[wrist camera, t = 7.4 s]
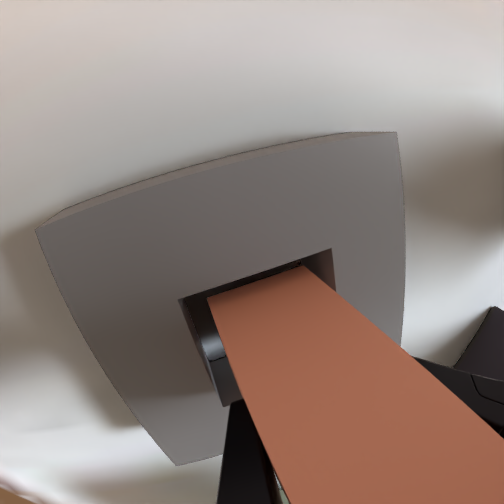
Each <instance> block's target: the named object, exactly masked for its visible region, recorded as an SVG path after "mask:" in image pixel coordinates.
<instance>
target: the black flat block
mask: <svg viewBox="0 0 504 504" xmlns="http://www.w3.org/2000/svg"><path fill="white" fill-rule="evenodd" d="M453 369H457V370H460V371H464V372H467V373H470V374H475V375H479V376H482V377H487V378H491V379H495V380H501V381H504V311H503V310H501V309H500V308H498V307H495V306H494V307H492V308H491V310H490V311H489V313H488V315H487V317H486V318H485V320H484V322H483V323H482V325H481V327H480V328H479V330H478V332H477V333H476V335H475V337H474V338H473V340H472V341H471V343H470V344H469V346H468V347H467V349H466V350H465V352H464V353H463V355H462V356H461V358H460V359H459V361H458V362H457V364H456V365H455V366H454V368H453Z"/></svg>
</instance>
